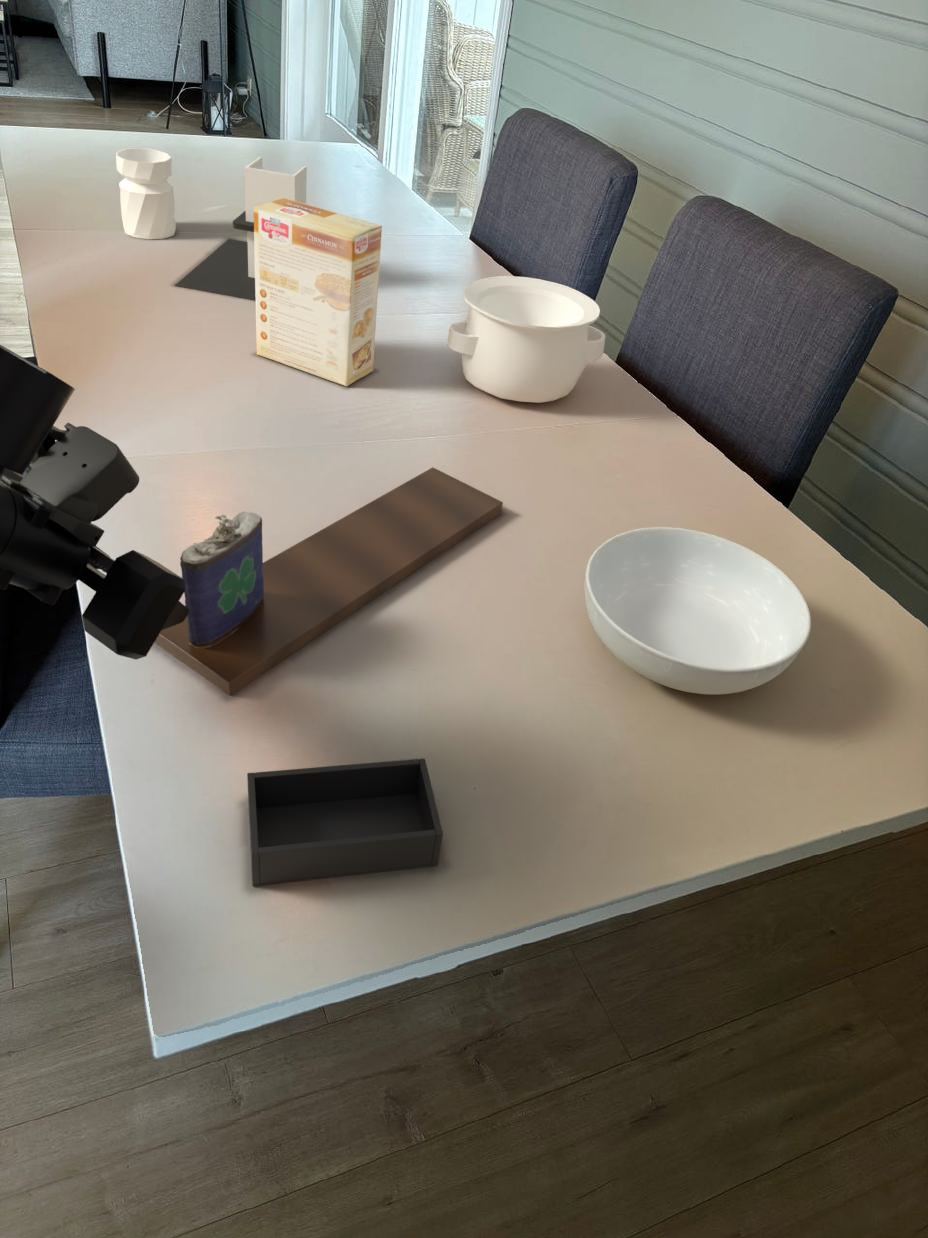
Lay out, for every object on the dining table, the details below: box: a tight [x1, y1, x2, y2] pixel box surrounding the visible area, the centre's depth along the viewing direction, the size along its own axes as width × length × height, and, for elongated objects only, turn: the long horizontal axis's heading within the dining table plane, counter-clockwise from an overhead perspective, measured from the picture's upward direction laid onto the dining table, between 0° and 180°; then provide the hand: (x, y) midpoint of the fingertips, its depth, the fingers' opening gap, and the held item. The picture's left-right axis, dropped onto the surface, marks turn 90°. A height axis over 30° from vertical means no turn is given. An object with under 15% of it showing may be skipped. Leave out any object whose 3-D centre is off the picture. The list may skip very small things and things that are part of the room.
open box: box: [246, 757, 444, 887], centre depth 65 cm, size 13×7×4 cm, turn 102°
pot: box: [446, 275, 607, 404], centre depth 124 cm, size 22×17×12 cm
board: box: [154, 466, 504, 696], centre depth 91 cm, size 40×10×2 cm, turn 143°
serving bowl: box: [584, 526, 812, 695], centre depth 86 cm, size 21×21×7 cm
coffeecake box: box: [254, 198, 383, 387], centre depth 120 cm, size 15×7×20 cm, turn 63°
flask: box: [179, 511, 264, 649], centre depth 77 cm, size 9×3×11 cm, turn 153°
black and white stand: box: [174, 156, 308, 301], centre depth 144 cm, size 25×24×16 cm
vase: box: [115, 147, 177, 240], centre depth 153 cm, size 9×9×12 cm
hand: (144, 588), depth 70 cm, fingers open, 9 cm apart
